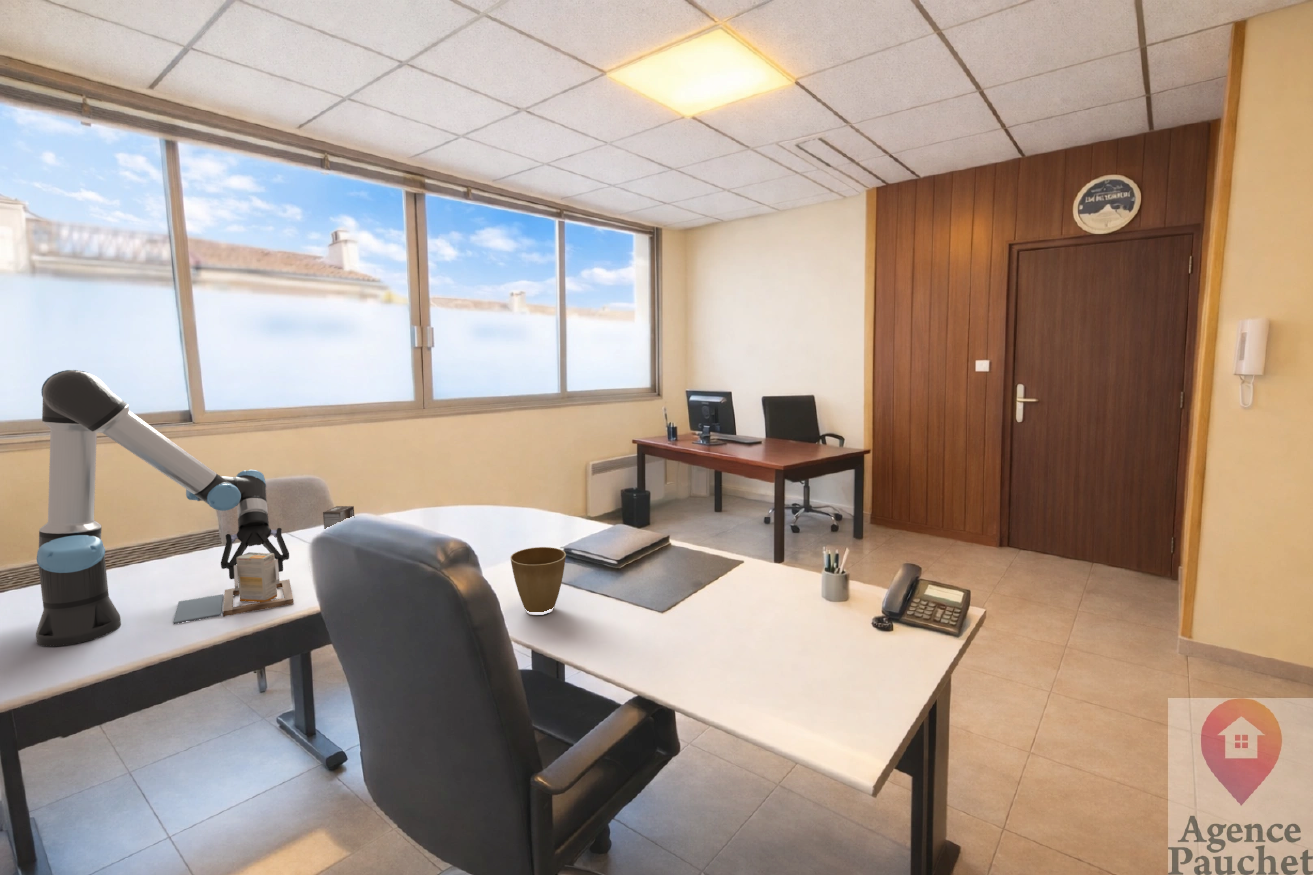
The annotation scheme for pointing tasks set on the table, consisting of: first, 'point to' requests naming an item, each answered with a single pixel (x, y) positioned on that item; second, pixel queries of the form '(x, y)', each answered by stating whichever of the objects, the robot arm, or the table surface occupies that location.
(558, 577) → the plant pot
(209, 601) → the mat
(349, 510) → the coffee box
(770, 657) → the table surface
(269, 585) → the supplement box
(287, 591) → the holder
